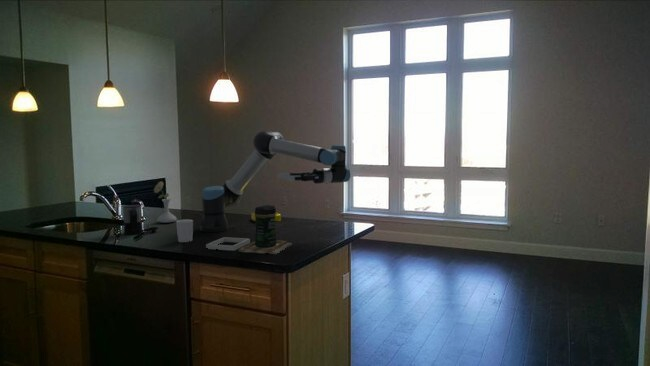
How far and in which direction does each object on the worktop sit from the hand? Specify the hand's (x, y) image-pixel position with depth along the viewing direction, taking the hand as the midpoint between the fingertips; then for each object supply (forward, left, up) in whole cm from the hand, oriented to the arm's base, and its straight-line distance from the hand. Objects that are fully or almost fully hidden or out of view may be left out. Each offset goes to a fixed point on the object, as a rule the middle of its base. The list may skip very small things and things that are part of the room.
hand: (282, 177), depth 234 cm
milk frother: (-80, -7, -31) cm, 85 cm away
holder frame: (-19, -22, -30) cm, 42 cm away
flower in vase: (-86, +23, -31) cm, 94 cm away
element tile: (-31, +46, -31) cm, 63 cm away
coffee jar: (0, -22, -30) cm, 37 cm away
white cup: (-45, -18, -31) cm, 57 cm away
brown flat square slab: (0, -22, -30) cm, 38 cm away
